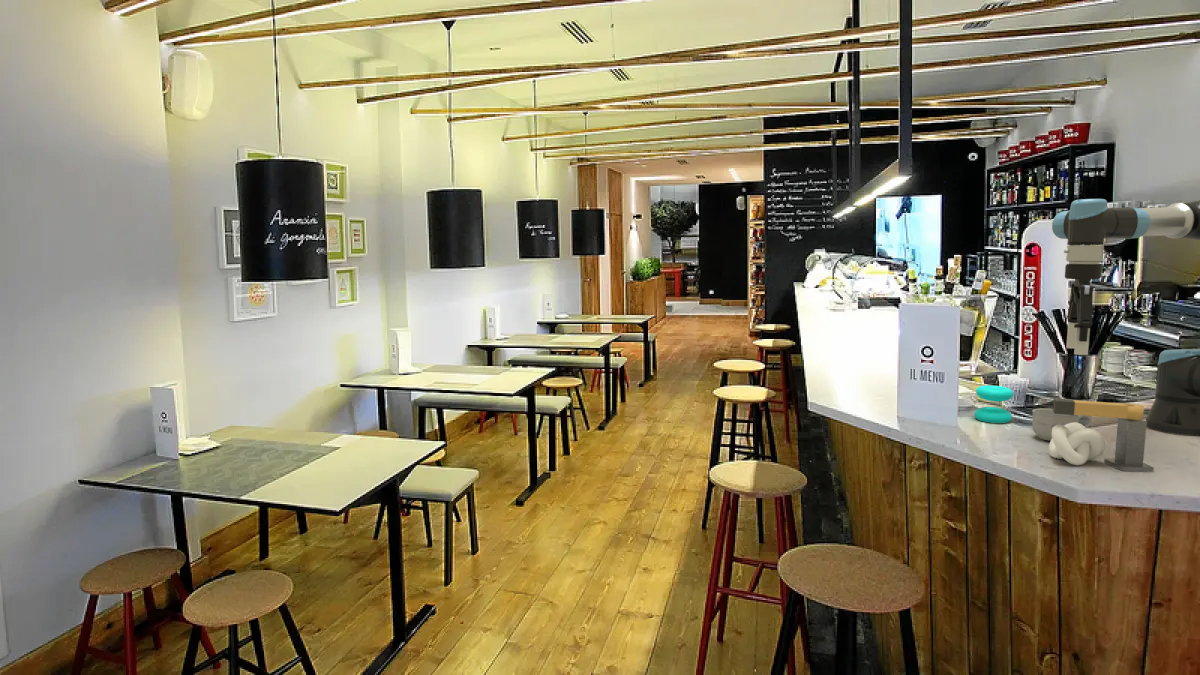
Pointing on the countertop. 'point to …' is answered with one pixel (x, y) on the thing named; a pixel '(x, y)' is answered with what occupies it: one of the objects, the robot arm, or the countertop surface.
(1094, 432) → the white knot
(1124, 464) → the post
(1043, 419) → the teacup
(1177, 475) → the countertop surface
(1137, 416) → the bar
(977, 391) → the donuts
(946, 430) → the countertop surface
